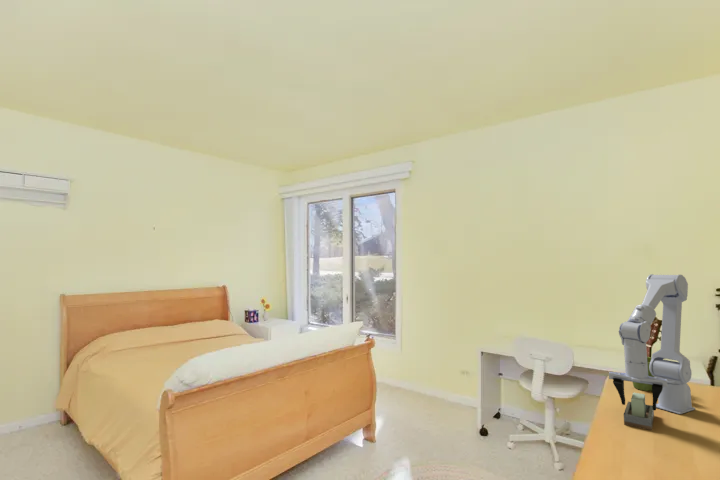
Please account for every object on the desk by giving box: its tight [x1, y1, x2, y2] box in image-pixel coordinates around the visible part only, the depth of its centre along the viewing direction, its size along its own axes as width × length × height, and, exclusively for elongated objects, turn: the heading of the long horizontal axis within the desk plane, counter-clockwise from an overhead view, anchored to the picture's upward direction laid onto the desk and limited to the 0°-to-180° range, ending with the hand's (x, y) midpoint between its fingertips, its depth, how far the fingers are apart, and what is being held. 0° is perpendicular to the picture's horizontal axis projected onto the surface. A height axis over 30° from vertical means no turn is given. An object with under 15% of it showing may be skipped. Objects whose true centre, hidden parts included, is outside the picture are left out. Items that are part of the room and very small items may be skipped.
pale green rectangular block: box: [630, 392, 647, 417], centre depth 118 cm, size 8×3×6 cm, turn 141°
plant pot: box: [632, 356, 654, 392], centre depth 148 cm, size 12×12×11 cm
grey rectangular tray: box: [623, 401, 655, 431], centre depth 118 cm, size 14×7×3 cm, turn 141°
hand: (638, 406), depth 118 cm, fingers open, 7 cm apart
